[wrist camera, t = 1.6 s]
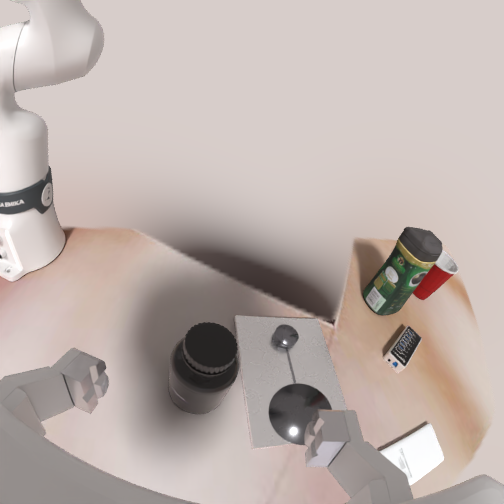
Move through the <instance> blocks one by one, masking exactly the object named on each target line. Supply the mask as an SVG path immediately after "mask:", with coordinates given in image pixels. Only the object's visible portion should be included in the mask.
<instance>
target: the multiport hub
mask: <svg viewBox="0 0 504 504" xmlns="http://www.w3.org/2000/svg"><path fill="white" fill-rule="evenodd" d="M421 340H422V338H421V337H420V336H419V335H418V334H417V333H416V332H415V331H414V330H413V329H412V328H411V327H410V326H407V327H406V328H405V329H404V330H403V331H402V332H401V334H400V335H399V337H398V338H397V339H396V341H395V342H394V344H393V345H392V346H391V348H390V349H389V350H388V352H387V353H386V354H385V356H384V357H383V359H384V361H385V362H386V363H388V364H389V365H390V366H391V367H392V368H393V369H394V370H395V371H396V372H397V373H400V372H401V371H402V370H403V369H404V368H406V366H407V364H408V363H409V361H410V359H411V358H412V356H413V354H414V352H415V351H416V349H417V347H418V345H419V344H420V342H421Z"/></svg>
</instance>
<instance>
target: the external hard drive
mask: <svg viewBox="0 0 504 504" xmlns="http://www.w3.org/2000/svg"><path fill="white" fill-rule="evenodd" d="M379 452H380V453H381V454H382V455H384V456H385V457H386V458H387V459H388V460H390V461H391V462H392V463H393V464H394V465H396V466H397V467H398V468H399V469H400V470H402V471H403V472H404V473H405V474H406V475H407V479H408V482H409V485H412V484H413V483H414V482H416V481H417V480H419V479H420V478H421V477H423V476H424V475H425V474H427V473H428V472H429V471H431V470H432V469H433V468H434V467H436V466H437V465H438V464H439V463H441V462H442V461H443V460H444V456H443V453H442V450H441V448H440V445H439V442H438V440H437V437H436V435H435V432H434V430H433V428H432V425H431V424H430V423H428V424H427V425H425V426H423V427H422V428H420V429H419V430H417V431H415V432H414V433H412V434H410V435H409V436H407V437H405V438H403V439H401V440H400V441H398V442H396V443H394V444H392V445H390V446H389V447H387V448H385V449H383V450H381V451H379Z"/></svg>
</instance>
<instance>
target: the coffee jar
mask: <svg viewBox="0 0 504 504" xmlns="http://www.w3.org/2000/svg"><path fill="white" fill-rule="evenodd" d="M441 253H442V242H441V241H440V240H439V239H438V238H437V237H436V236H435V235H434V234H433V233H432V232H431V231H427V230H423V229H419V228H413V227H406V228H405V229H404V231H403V232H402V234H401V235H400V237H399V238H398V240H397V243H396V246H395V248H394V250H393V251H392V253H391V255H390V256H389V257H388V259H387V260H386V262H385V263H384V265H383V266H382V267H381V269H380V270H379V271H378V273H377V274H376V275H375V277H374V278H373V279H372V280H371V282H370V283H369V284H368V286H367V287H366V288H365V290H364V292H363V296H364V298H365V301H366V303H367V305H368V306H369V307H370V309H372V310H373V311H374V312H375V313H377V314H378V315H390V314H393V313H396V312H398V311H399V310H400V309H401V307H402V306H403V305H404V304H405V302H406V301H407V300H408V298H409V297H410V296H411V294H412V293H413V292H414V290H415V289H416V287H417V286H418V285H419V283H420V282H421V281H422V279H423V278H424V276H425V275H426V274H427V273H428V271H429V270H430V269H431V268H432V266H433V265H434V264H435V263H436V261H437V260H438V258H439V257H440V255H441Z"/></svg>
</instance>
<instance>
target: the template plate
mask: <svg viewBox="0 0 504 504" xmlns="http://www.w3.org/2000/svg"><path fill="white" fill-rule="evenodd" d="M234 321H235V329H236V338H237V346H238V354H239V361H240V369H241V377H242V384H243V391H244V399H245V406H246V413H247V420H248V426H249V433H250V440H251V446H252V449H261V448H271V447H279V446H286V445H293V444H298V445H305V441H304V437H305V431H306V427H307V425H308V423H309V422H311V421H312V420H313V418H312V415H313V413H314V411H315V410H316V409H323V410H347V407H346V404H345V401H344V397H343V394H342V391H341V388H340V385H339V381H338V378H337V375H336V372H335V369H334V366H333V363H332V360H331V357H330V354H329V351H328V348H327V345H326V342H325V339H324V336H323V333H322V330H321V327H320V324H319V322H318V319H306V318H277V317H257V316H241V315H235V317H234Z"/></svg>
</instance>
